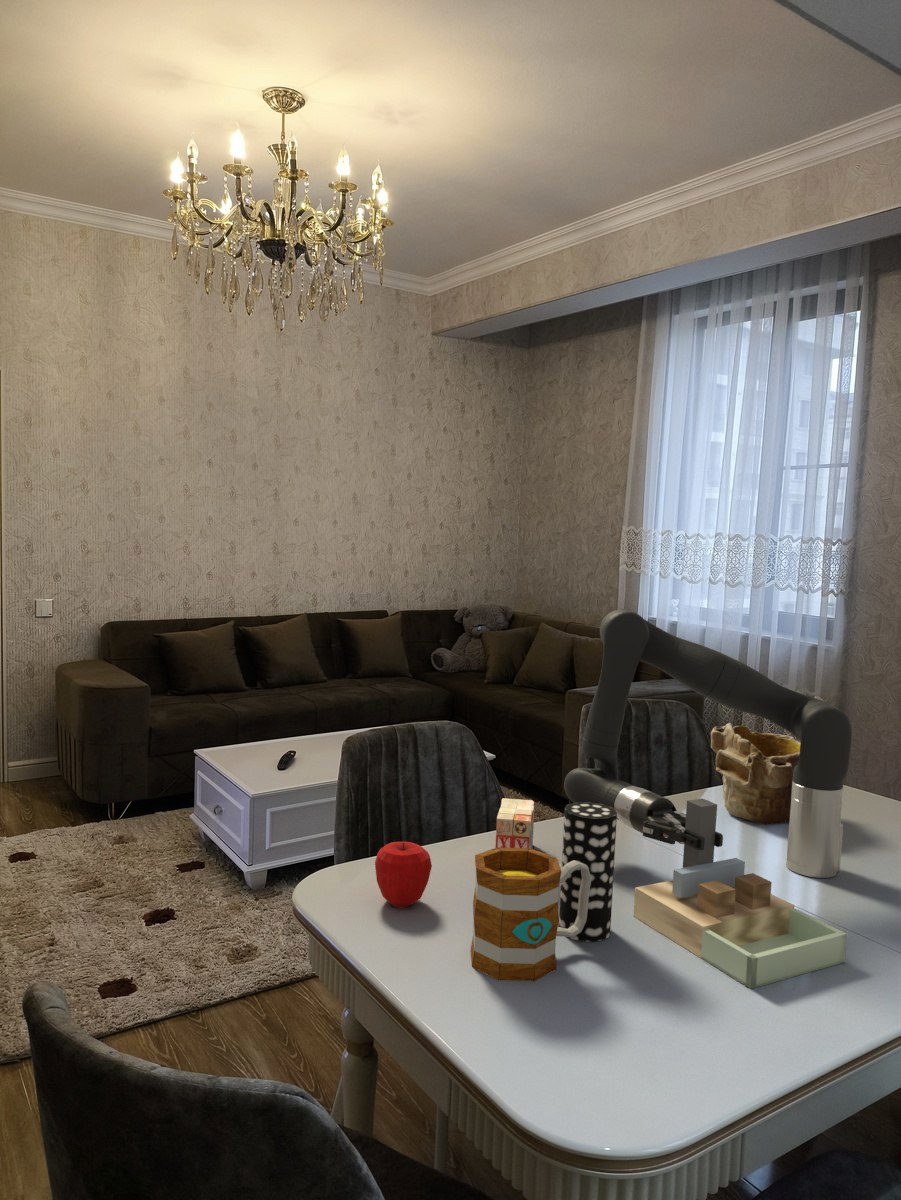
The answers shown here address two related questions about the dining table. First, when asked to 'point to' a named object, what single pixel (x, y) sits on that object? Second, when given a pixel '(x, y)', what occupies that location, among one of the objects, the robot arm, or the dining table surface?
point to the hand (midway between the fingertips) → (711, 842)
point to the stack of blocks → (515, 824)
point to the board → (707, 918)
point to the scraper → (703, 853)
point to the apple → (402, 872)
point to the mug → (521, 912)
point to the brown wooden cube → (716, 899)
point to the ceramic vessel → (755, 772)
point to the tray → (777, 952)
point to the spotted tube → (595, 847)
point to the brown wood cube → (752, 891)
